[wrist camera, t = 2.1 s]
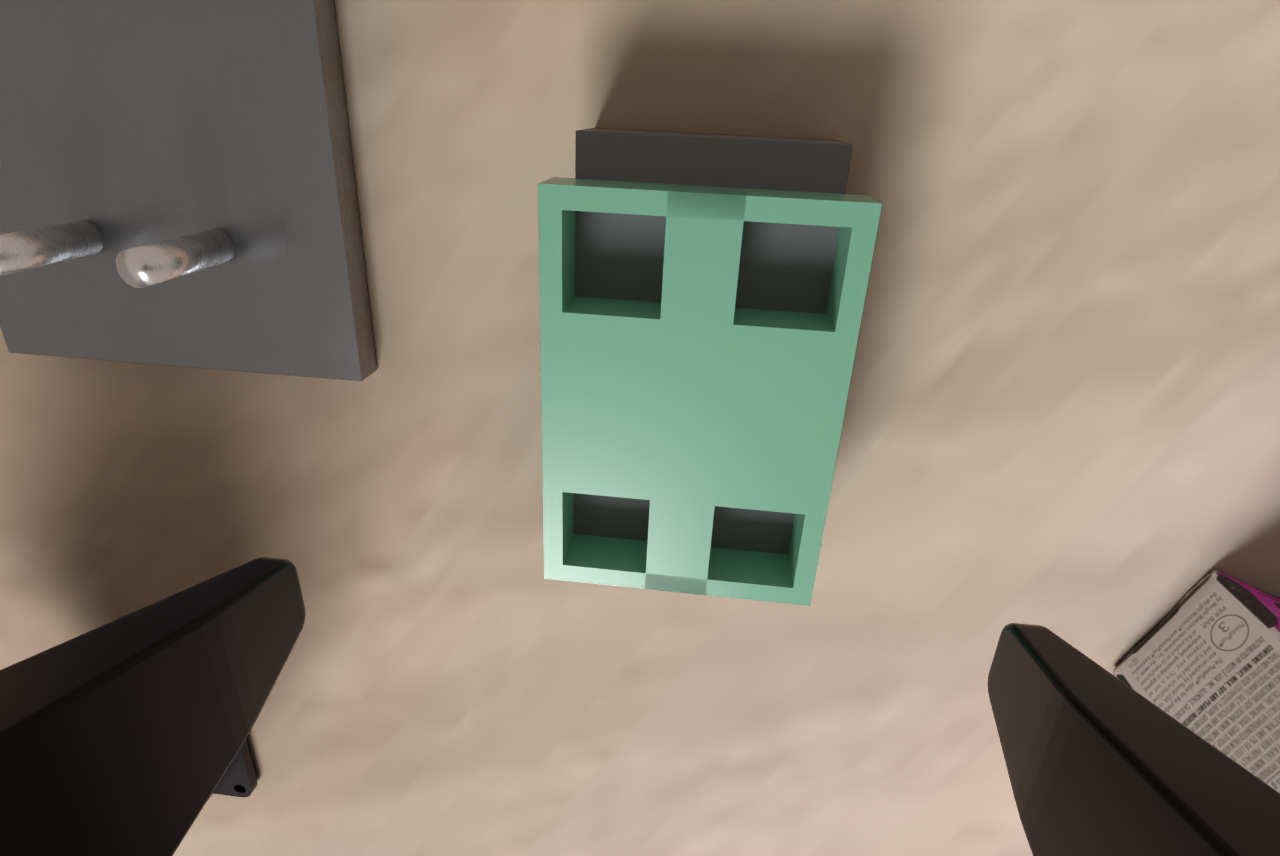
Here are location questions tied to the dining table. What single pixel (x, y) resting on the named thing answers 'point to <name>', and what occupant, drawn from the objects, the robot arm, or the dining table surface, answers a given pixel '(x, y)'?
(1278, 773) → the candy bar box
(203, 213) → the grey metal peg base
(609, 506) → the foam pad
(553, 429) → the board
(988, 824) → the dining table surface
